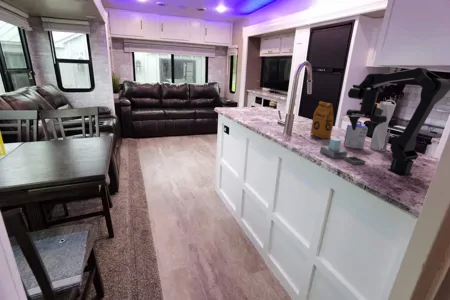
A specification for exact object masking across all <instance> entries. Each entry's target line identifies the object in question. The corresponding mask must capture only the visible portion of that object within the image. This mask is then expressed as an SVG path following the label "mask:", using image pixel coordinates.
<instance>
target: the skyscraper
mask: <svg viewBox="0 0 450 300" xmlns="http://www.w3.org/2000/svg"><path fill="white" fill-rule="evenodd" d="M392 102H393V103H394V104H393V103H392ZM396 106H397V103H396V101H394V100H392V99H386V100H385V101H380V102H379V107H378V108H380V109H382V110H383V113H382V114H381V115H383V116H386V117H387V120H386V122H383V123H381V124H379V125H377V127H376V128H375V129H374V130H373V132H372V135H371V136H372V138H371V139H370V145H369V148H370V150H374V149H375V150H374V151H378V150H379V152H382V151H383V152H385V151H386V150H387V146H388V142H389V139H390V133H391V128H389V122H390V121H391V119H392V117H393V115H394V111H395V109H396ZM388 128H389V130H388Z"/></svg>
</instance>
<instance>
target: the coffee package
mask: <svg viewBox="0 0 450 300" xmlns="http://www.w3.org/2000/svg"><path fill="white" fill-rule="evenodd" d="M312 116H313V117H312V122H311V129H310V134H311V135H313V136H316V137H317V138H320V139H331V138H332V137H331V135H332V133H333V132H332V131H333V127H334V126H333V125H334V117H335V116H334V108H333V103H330V102H325V101H322V100H321V101H319V102H318V106H317V107H316V108H315V111H314V112H313V115H312Z"/></svg>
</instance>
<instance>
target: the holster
mask: <svg viewBox="0 0 450 300" xmlns="http://www.w3.org/2000/svg"><path fill="white" fill-rule="evenodd" d="M343 159H344V161H345V162H348V163H349V162H350V163H349V164H351V165H354V166H359V165H365V164H366V160H364V159H362V158H360V157H357V156H356V155H354V156H347V157H344V158H343Z"/></svg>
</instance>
